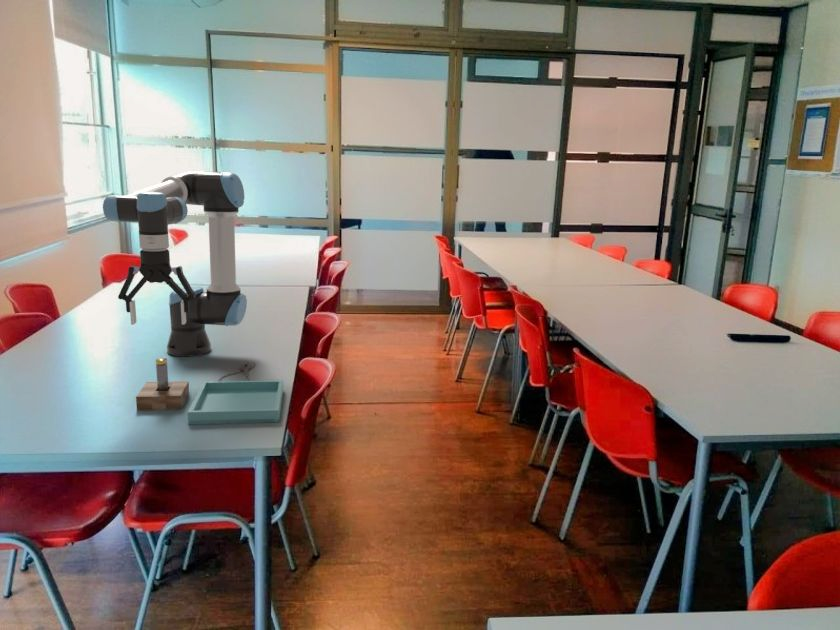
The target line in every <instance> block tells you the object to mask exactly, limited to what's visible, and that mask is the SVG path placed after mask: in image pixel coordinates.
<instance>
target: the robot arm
mask: <svg viewBox="0 0 840 630" xmlns="http://www.w3.org/2000/svg"><path fill="white" fill-rule="evenodd" d="M244 200H245V189H244V185H243V182H242V179H240V177H239V176H238V174H236V173H233V172H229V171H228V172H227V171H226V172H225V171H205V170H204V171H203V170H202V171H201V170H191V171H185V172H181V173H176V174H174V175H171V176H168V177H166V178H164V179H163V180H161V182H160V183H157V184H154V185H152V186H148V187H146V188H143V189H140V190H136V191H134V192H131V193H128V194H124V195H118V194H115V195H113V194H111V195H107V196H106V197H105V198H104V199H103V202H102V212H103V215H104V217H105V218H106V219H107V220H108V221H110V222H118V223H137V224H138V241H139V242H138V243H139V248H140V249H141V250H140V251H139V255H140V256H139V258H140V266H135V265H131V266H129V267H128V273H127V277H126V279H125V281H124V283H123V285H122V287H121V290H120V292H119V294H118V297H117V298H118V299H119V300H123V301H125V310H126V312H127V313H130V314H129V315H130V325H136V323H137V311H136V300H135V299H133V298H134V297H135V296H136V294H137V293H138V292H139V290H141V289H142V287H143V286H144V285H145V284H146V283H147V282H148V283H149V284H150V283H151V284H153V283H158V284H159V283H160V284H162V283H165V284H166V285H168V287H170V288H171V289H172V291H171V292H170V294H169V303H168V305H169V316H170V319H169V320H170V334H169V338H168V342H167V345H166V352H167V354H168V355H172V356H176V357H194V356H201V355H204V354H207V353H209V352H210V351H211V350H212V349H211V348H212V347H211V345H212V344H211V341H210V339H209V336H208V334H207V331H206V325H211V326H226V327H229V326H230V327H231V326H235V327H236V326H239V325H240V324H241V323H242V322H243V320H244V318H245V315H246V312H247V306H248V305H247V304H248V299H247V296H246V294H244V293H241V287H240V286H239V285H238V284H237V275H236V274H237V273H236V270H237V269H236V236H235V234H236V233H235V216H236V215H237V214H238V213H239V208H241V207H243V206H244V203H245V201H244ZM187 205H191V206H203V212H204V214H206V216H207V217H208V236H209V237H208V239H209V263H210V265H209V268H210V284H209V286H207V287H206V291H205V290H204V287H202V286H191V285H190V282H189V281H188V279H187V277H186V276H185V274H184V271H183V270H184V269H183V267H182V265H179V266H175V267H172V266H171V259H170V250H169V249H168V248H169V247H170V241H169V226H168V225H173V224H174V225H176V224H178V223H181V222H183V221H184V220H185V219H186V218H187V216H188V206H187ZM138 272H139V273H140V274H141V275H142V278H141V279H140V280H139V282H138V283H137V284H136V285H135V287H133V289H132V290H131V291H130V292H129V293H128V290H129V289H130V287H131V285H132V282H133V281H134V278H135V275H137V274H138ZM172 273H174V275H175V276H177V278H178V280H179V282H180V284H181V285H182V287H183V288H181V286H180V285H179V284H178V283H176V281H174V278H172V277H171V274H172ZM127 293H128V294H127Z"/></svg>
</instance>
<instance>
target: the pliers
mask: <svg viewBox="0 0 840 630" xmlns="http://www.w3.org/2000/svg"><path fill="white" fill-rule="evenodd" d="M255 365H256V362H254V363H252V364H251V365H249V366H248V362H245V363H244V364H242V365H241V366H240V368H238V369H237V370H235V371H233V372H230V373H227V374H224V375H222V376H220V378H219V379H218V380H217V381H222V380H223V379H224V378H226V377H230V376H232V375H236V374H239V373H241V372H244V375H245V376H246V380H245V381H250V378H251V377H250V374H249V371H251V370H252V369H254V368H255Z"/></svg>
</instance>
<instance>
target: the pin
mask: <svg viewBox="0 0 840 630" xmlns="http://www.w3.org/2000/svg"><path fill="white" fill-rule="evenodd" d="M167 359H168V358H167V357H158V358H156V359H155V368H156V370H155V371H156V382H157V387H158V391H169V385H168V382H169V374H168V373H169V372H168V360H167Z"/></svg>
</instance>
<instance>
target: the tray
mask: <svg viewBox="0 0 840 630" xmlns="http://www.w3.org/2000/svg"><path fill="white" fill-rule="evenodd" d="M283 395H284V379H283V380H282V379H279V380H278V379H277V380H276V379H275V380H273V379H272V380H249V381H246V380H223V381H222V380H220V381H218V380H216V381H212V380H211V381H209V380H208V381H202V382H201V385H200V386H199V389H198V391H197V393H196V395H195V397H194V399H193V401H192V403H191V405H190V407H189V408H188V410H187V421H188V423H187V424H188V425H212V424H213V425H216V424H221V425H222V424H252V423H253V424H254V423H261V424H262V423H279V422H280V417H281V410H282V404H283Z"/></svg>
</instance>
